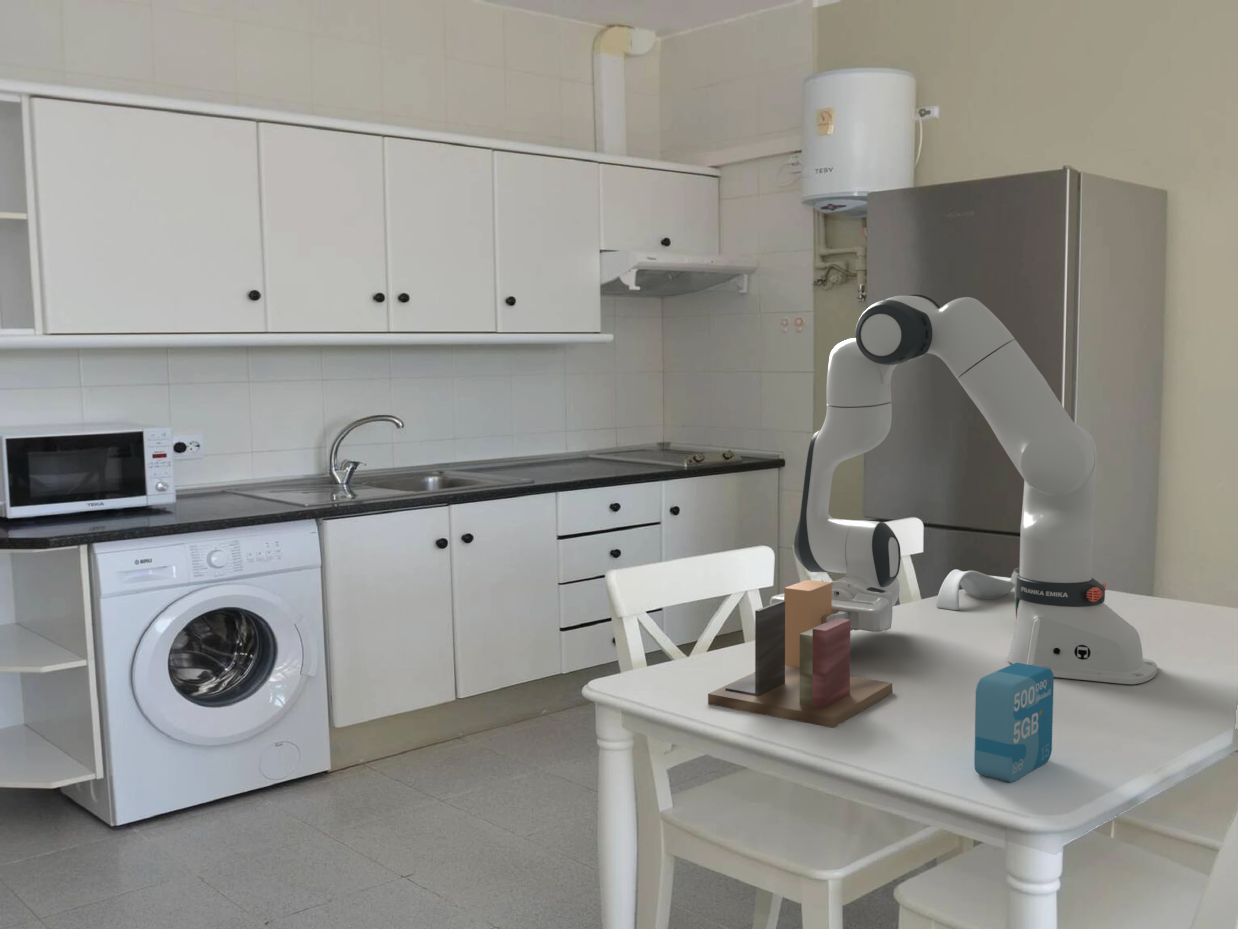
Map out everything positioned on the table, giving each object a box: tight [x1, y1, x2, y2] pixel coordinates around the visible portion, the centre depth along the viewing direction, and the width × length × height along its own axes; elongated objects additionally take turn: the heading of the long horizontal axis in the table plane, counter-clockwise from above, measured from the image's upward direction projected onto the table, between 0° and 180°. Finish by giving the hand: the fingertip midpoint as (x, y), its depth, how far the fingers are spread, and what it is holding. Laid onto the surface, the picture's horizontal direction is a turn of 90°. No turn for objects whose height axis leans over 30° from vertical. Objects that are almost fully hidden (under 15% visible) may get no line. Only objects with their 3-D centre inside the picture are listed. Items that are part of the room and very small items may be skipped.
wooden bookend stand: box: [707, 601, 893, 729], centre depth 177 cm, size 20×20×14 cm
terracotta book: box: [783, 579, 832, 668], centre depth 196 cm, size 4×8×13 cm, turn 144°
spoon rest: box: [936, 568, 1014, 611], centre depth 244 cm, size 24×12×7 cm, turn 139°
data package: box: [973, 663, 1055, 783], centre depth 147 cm, size 12×4×12 cm, turn 137°
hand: (808, 620), depth 196 cm, fingers closed on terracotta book, 4 cm apart
